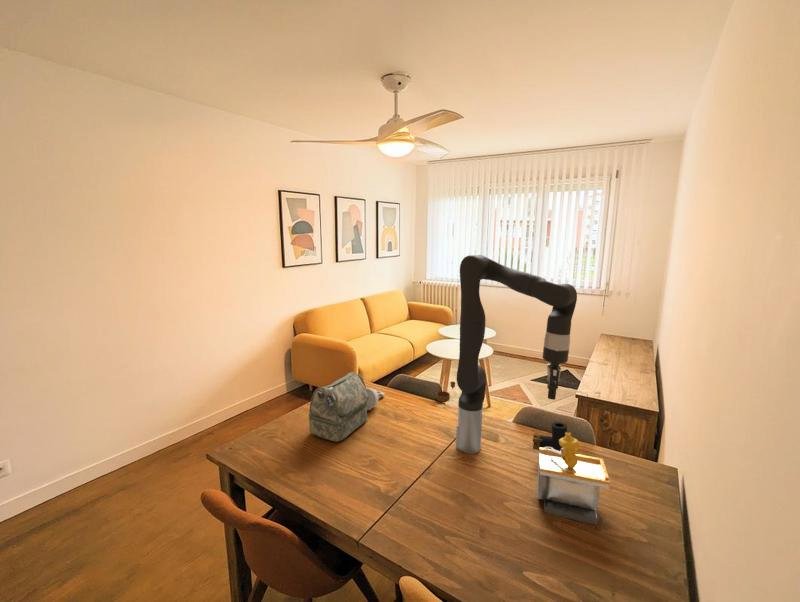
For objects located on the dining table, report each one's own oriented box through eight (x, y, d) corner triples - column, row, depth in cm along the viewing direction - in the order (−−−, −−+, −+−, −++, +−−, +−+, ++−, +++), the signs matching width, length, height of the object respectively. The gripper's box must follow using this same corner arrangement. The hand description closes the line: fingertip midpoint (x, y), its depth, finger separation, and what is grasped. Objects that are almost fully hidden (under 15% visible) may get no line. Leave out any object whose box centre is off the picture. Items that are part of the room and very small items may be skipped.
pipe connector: (533, 464, 134) (532, 425, 133) (534, 456, 139) (533, 419, 137) (567, 469, 129) (566, 429, 128) (567, 461, 134) (566, 422, 133)
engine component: (354, 409, 173) (355, 387, 174) (365, 401, 193) (366, 382, 194) (376, 411, 171) (377, 389, 172) (385, 403, 191) (386, 383, 192)
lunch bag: (338, 447, 143) (337, 394, 140) (302, 435, 152) (301, 385, 148) (373, 419, 166) (373, 373, 163) (341, 410, 174) (340, 366, 171)
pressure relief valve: (572, 472, 106) (569, 437, 106) (539, 458, 117) (536, 427, 117) (584, 467, 109) (581, 433, 109) (551, 454, 119) (548, 423, 120)
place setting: (422, 399, 189) (422, 388, 189) (452, 391, 200) (452, 380, 199) (444, 412, 175) (444, 400, 174) (474, 402, 186) (475, 391, 185)
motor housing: (537, 511, 110) (540, 466, 108) (536, 486, 121) (539, 445, 119) (604, 526, 104) (609, 480, 102) (597, 499, 115) (602, 457, 113)
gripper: (543, 339, 125) (538, 384, 128) (544, 350, 112) (538, 400, 115) (567, 342, 123) (562, 387, 125) (571, 354, 109) (564, 404, 112)
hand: (551, 393), depth 120 cm, fingers open, 8 cm apart
